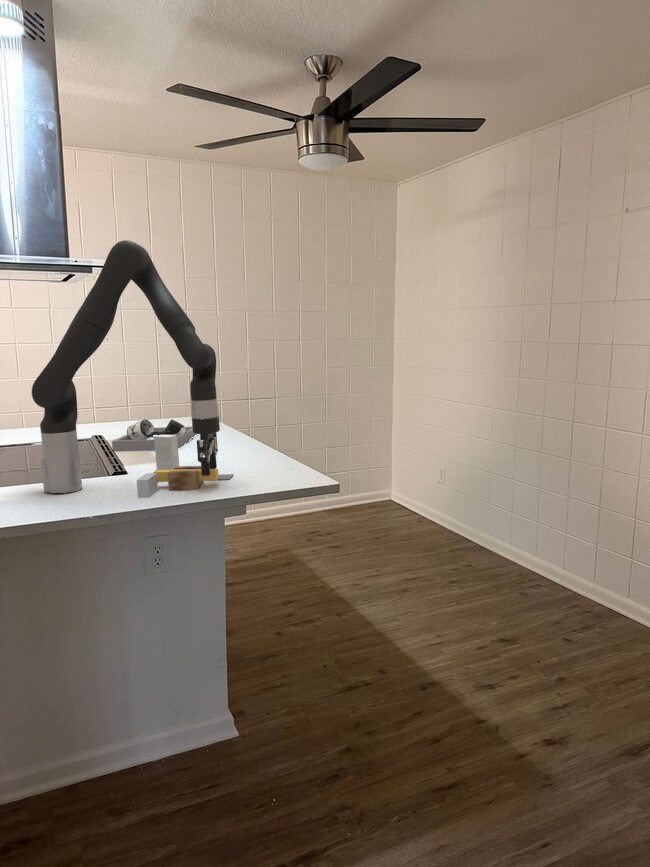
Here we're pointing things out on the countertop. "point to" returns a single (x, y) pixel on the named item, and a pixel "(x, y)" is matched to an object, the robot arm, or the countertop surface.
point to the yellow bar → (163, 474)
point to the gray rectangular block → (147, 485)
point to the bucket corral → (147, 441)
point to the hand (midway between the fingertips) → (209, 472)
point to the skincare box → (166, 452)
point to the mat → (225, 476)
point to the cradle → (184, 479)
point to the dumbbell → (146, 430)
